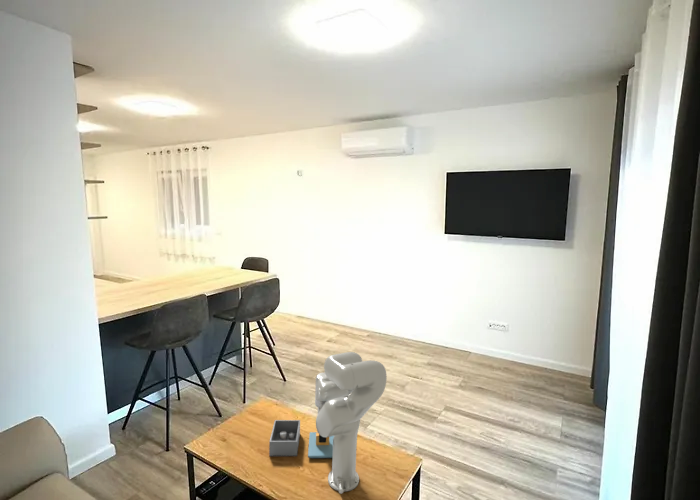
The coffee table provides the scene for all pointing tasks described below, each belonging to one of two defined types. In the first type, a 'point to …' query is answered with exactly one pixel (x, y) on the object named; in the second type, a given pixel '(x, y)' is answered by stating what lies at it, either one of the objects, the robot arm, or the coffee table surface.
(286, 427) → the parts tub
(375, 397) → the robot arm
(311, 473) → the coffee table surface
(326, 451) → the tub lid
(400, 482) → the coffee table surface
